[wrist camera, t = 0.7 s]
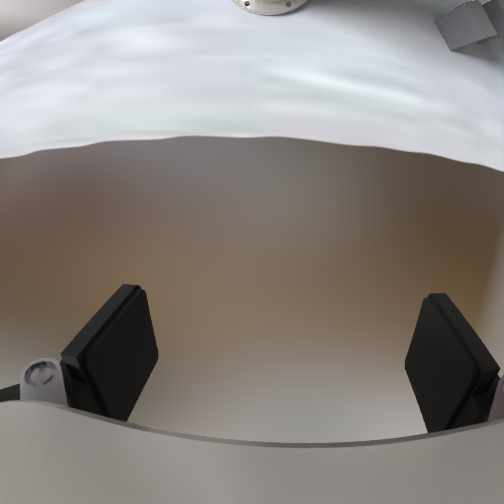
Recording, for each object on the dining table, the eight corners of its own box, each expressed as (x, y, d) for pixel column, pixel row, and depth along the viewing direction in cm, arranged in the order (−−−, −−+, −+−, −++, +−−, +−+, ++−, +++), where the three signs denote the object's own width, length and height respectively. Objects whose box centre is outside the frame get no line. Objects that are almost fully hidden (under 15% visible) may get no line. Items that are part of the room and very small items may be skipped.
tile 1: (450, 50, 31) (485, 37, 22) (434, 21, 30) (465, 2, 21) (462, 47, 31) (497, 34, 21) (446, 18, 29) (478, 0, 20)
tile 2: (478, 43, 30) (513, 31, 20) (463, 15, 28) (495, -2, 19) (488, 40, 29) (523, 29, 20) (473, 13, 28) (506, -3, 18)
